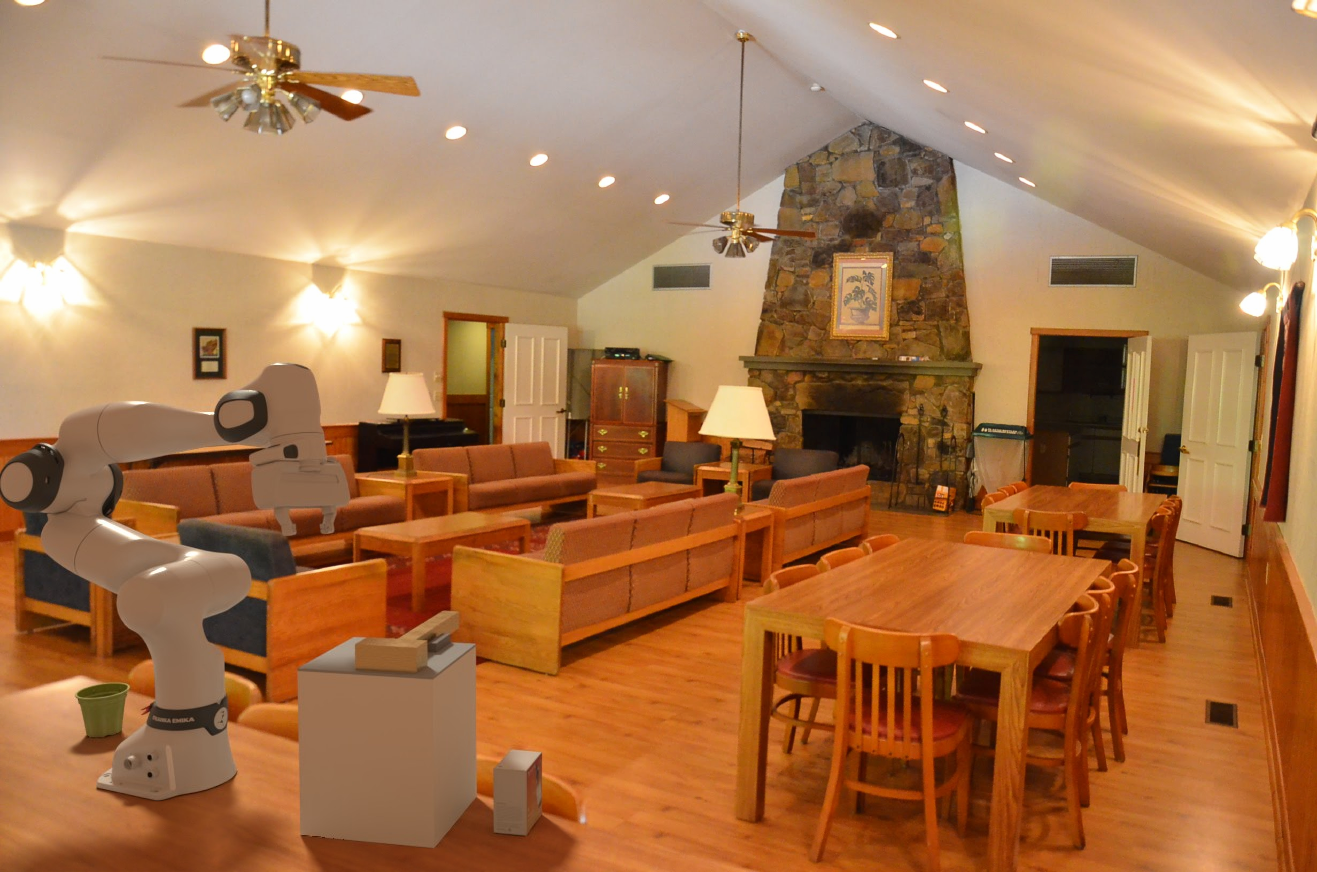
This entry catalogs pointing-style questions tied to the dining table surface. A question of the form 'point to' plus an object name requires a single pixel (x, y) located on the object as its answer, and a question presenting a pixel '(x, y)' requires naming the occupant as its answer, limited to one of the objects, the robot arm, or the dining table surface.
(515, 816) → the small box
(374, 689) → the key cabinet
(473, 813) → the dining table surface
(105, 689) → the plant pot
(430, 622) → the wooden t-shaped block
